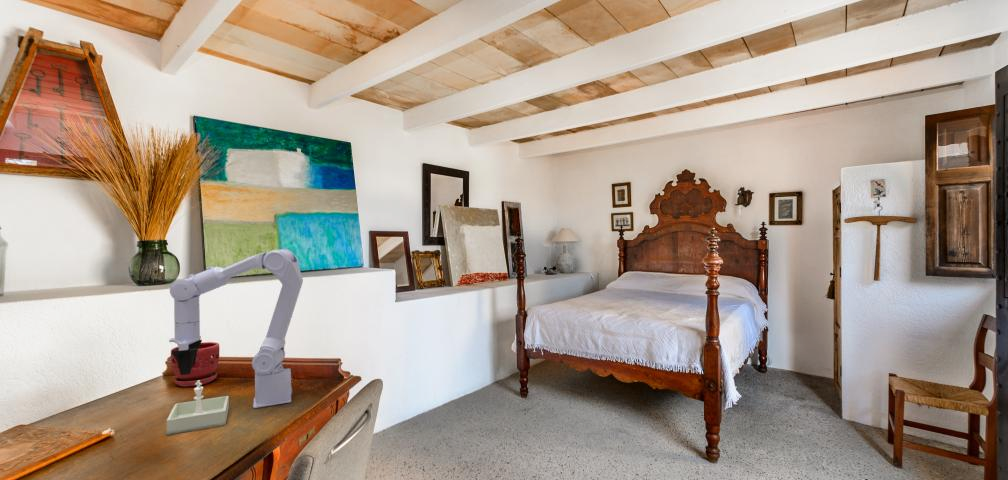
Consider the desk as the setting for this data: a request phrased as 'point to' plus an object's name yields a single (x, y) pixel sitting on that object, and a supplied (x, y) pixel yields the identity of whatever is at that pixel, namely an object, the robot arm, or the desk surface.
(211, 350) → the plant pot
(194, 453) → the desk surface
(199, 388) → the chess piece
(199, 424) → the box
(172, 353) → the robot arm
